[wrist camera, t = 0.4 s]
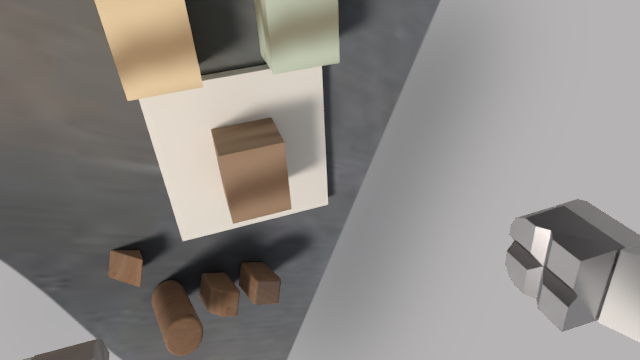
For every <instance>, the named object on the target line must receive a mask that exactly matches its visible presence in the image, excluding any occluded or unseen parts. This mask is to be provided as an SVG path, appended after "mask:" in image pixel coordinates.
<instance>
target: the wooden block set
mask: <svg viewBox="0 0 640 360" xmlns="http://www.w3.org/2000/svg"><path fill="white" fill-rule="evenodd" d="M142 267H143V259H142V256H141V253H140V250H111V251H110V262H109V274H108V277H110V278H113V279H116V280H119V281H123V282H126V283H129V284H132V285H135V286H138V287H141V278H142ZM280 284H281V279H280V278H279V277H278V276H277V275H276V274H275V273H274V272H273V271H272V270H271V269H270V268H269V267H268V266H267V265H266V264H265V263H264V262H246V263H242V264H241V270H240V279H239V286H240V287H241V288H242V290H243V291H244V292H245V293H246V295H247V296H248V297H249V299H250V300H251V301H252V302H253V304H255V305H260V304H274V303H278V300H279V292H280ZM239 295H240V291H239V290H238V288H237V287H236V286H235V284H234V283H233V282H232V280H231V279H230V278H229V276H228V275H227V274H226V273H203V274H202V275H201V285H200V294H199V296H200V298H201V300H202V301H203V303H204V305H205V307H206V309H207V310H208V312H210V313H214V314H217V315H221V316H224V317H227V316H236V315H237V312H238V304H239ZM152 305H153V308H154V311H155V314H156V317H157V321H158V324H159V327H160V330H161V333H162V336H163V339H164V342H165V345H166V347H167V349H168V350H169V351H170V352H171V353H172V354H175V355H178V356H184V355H187V354H190V353H191V352H193V351H194V350H195V349H196V348H197V347H198V346H199V344H200V342H201V341H202V337H203V326H202V324H201V322H200V320H199V318H198V316H197V314H196V312H195V310H194V308H193V306H192V304H191V302H190V300H189V298H188V296H187V294H186V292H185V290H184V288H183V286H182V285H181V284H180V283H179V282H177V281H173V280H168V281H164V282H162V283H161V284H159V285H158V286H157V287H156V289H155V290H154V292H153V295H152Z"/></svg>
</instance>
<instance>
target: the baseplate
mask: <svg viewBox="0 0 640 360" xmlns="http://www.w3.org/2000/svg"><path fill="white" fill-rule="evenodd" d="M201 78H202V83H203V87H202V88H196V89H191V90H185V91H180V92H174V93H169V94H163V95H158V96H152V97H147V98H141V99H139V101H140V105H141V108H142V111H143V114H144V117H145V121H146V124H147V127H148V130H149V134H150V137H151V140H152V143H153V147H154V150H155V153H156V156H157V159H158V163H159V166H160V169H161V172H162V176H163V179H164V182H165V185H166V189H167V192H168V195H169V198H170V202H171V205H172V208H173V211H174V214H175V218H176V221H177V224H178V227H179V231H180V234H181V237H182V240H183V241H186V240H190V239H194V238H198V237H202V236H206V235H210V234H214V233H218V232H222V231H226V230H230V229H233V228H237V227H241V226H245V225H249V224H253V223H257V222H261V221H265V220H269V219H273V218H277V217H281V216H285V215H289V214H293V213H297V212H301V211H305V210H308V209H312V208H316V207H320V206H324V205H328V191H327V168H326V146H325V124H324V102H323V80H322V66H319V67H313V68H307V69H302V70H296V71H291V72H285V73H279V74H273V73H272V71H271V69H270V68H269V66H268V65H267V64H265V65H260V66H254V67H248V68H242V69H237V70H231V71H225V72H219V73H214V74H208V75H202V76H201ZM270 117H271V118H272V120H273V121H274V123H275V125H276V127H277V129H278V131H279V133H280V135H281V137H282V138H283V140H284V143H285V152H286V161H287V170H288V180H289V189H290V198H291V208H292V209H290V210H286V211H282V212H278V213H274V214H270V215H266V216H262V217H258V218H254V219H250V220H246V221H243V222H239V223H235V224H233V222H232V218H231V215H230V211H229V208H228V204H227V201H226V197H225V193H224V189H223V184H222V179H221V175H220V170H219V165H218V161H217V156H216V151H215V147H214V142H213V138H212V133H211V129H215V128H220V127H225V126H230V125H235V124H240V123H245V122H250V121H255V120H260V119H265V118H270Z"/></svg>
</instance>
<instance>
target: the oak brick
mask: <svg viewBox="0 0 640 360" xmlns="http://www.w3.org/2000/svg"><path fill="white" fill-rule="evenodd" d="M95 3H96V6H97V9H98V12H99V15H100V18H101V21H102V25H103V28H104V31H105V34H106V37H107V40H108V43H109V46H110V49H111V52H112V55H113V58H114V61H115V64H116V67H117V70H118V73H119V76H120V79H121V82H122V85H123V88H124V91H125V94H126V97H127V100H128V101H130V100H136V99H141V98H147V97H152V96H158V95H163V94H169V93H174V92H180V91H185V90H191V89H196V88H202V87H203V83H202V78H201V74H200V69H199V65H198V60H197V55H196V51H195V46H194V42H193V37H192V32H191V28H190V23H189V18H188V14H187V9H186V5H185V0H95Z"/></svg>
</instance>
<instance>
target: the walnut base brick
mask: <svg viewBox="0 0 640 360" xmlns="http://www.w3.org/2000/svg"><path fill="white" fill-rule="evenodd" d="M211 133H212V138H213V142H214V147H215V151H216V156H217V161H218V165H219V170H220V175H221V179H222V184H223V189H224V193H225V197H226V201H227V204H228V208H229V211H230V215H231V218H232V222H233V224H235V223H239V222H243V221H246V220H250V219H254V218H258V217H262V216H266V215H270V214H274V213H278V212H282V211H286V210H290V209H292V208H291V198H290V189H289V180H288V170H287V161H286V152H285V143H284V140H283V138H282V137H281V135H280V133H279V131H278V129H277V127H276V125H275V123H274V121H273V120H272V118H271V117H270V118H265V119H260V120H255V121H250V122H245V123H240V124H235V125H230V126H225V127H220V128H215V129H211Z"/></svg>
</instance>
